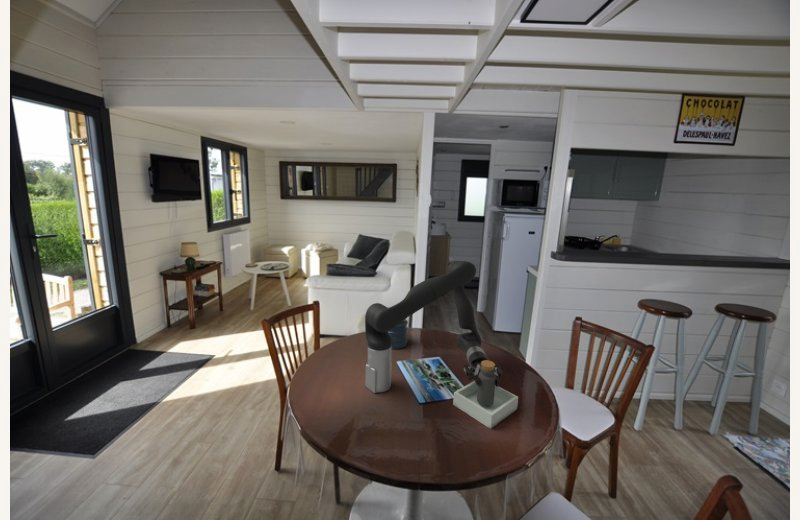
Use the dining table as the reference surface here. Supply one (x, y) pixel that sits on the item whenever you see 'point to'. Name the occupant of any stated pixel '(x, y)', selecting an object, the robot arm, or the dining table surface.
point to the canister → (399, 335)
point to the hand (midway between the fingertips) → (488, 384)
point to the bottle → (486, 383)
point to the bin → (485, 414)
